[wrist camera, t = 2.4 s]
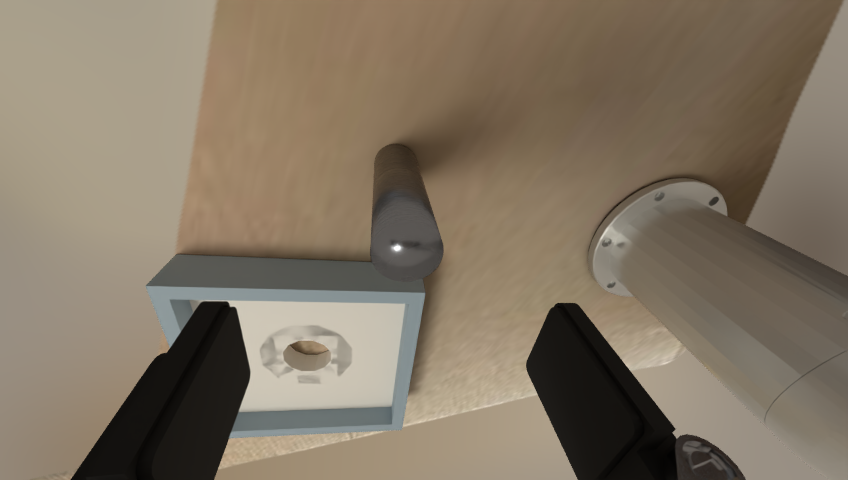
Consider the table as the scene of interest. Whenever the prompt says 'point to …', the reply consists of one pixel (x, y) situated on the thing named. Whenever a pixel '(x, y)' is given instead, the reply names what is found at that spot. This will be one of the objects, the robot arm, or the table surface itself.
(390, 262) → the peg
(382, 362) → the box
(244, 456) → the table surface
